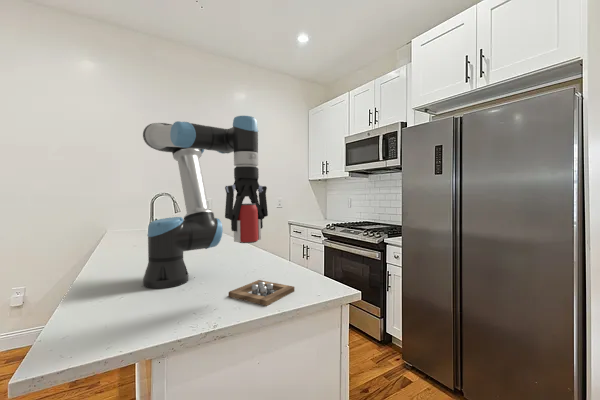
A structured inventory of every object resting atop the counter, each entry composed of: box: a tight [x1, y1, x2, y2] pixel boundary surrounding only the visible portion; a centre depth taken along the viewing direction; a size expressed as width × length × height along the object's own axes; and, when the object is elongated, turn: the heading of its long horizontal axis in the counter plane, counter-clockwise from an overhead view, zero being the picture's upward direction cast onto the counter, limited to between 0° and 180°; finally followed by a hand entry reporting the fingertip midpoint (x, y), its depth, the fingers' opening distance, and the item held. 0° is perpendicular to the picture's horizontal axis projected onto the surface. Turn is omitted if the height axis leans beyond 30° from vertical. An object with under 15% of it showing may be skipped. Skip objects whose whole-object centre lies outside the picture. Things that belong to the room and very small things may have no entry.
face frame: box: [228, 279, 295, 307], centre depth 95 cm, size 15×15×2 cm
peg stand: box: [251, 282, 274, 296], centre depth 95 cm, size 5×5×3 cm
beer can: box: [237, 203, 259, 244], centre depth 92 cm, size 7×7×12 cm
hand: (247, 240), depth 92 cm, fingers closed on beer can, 7 cm apart
